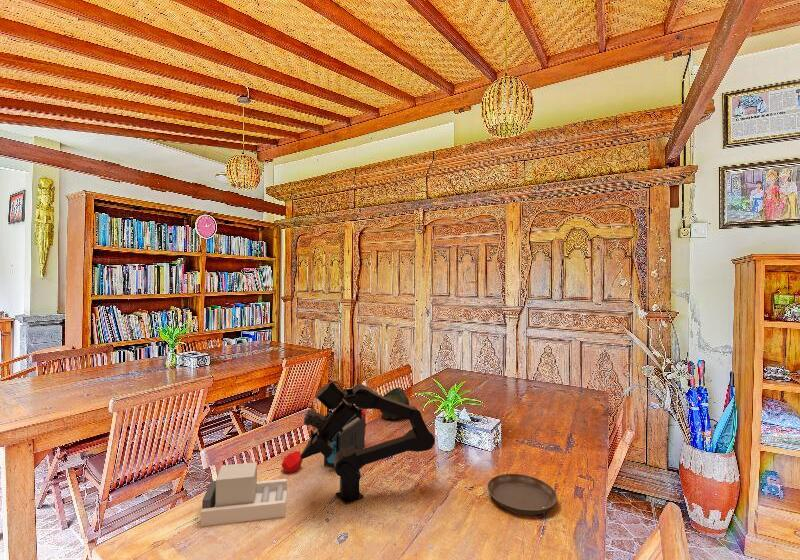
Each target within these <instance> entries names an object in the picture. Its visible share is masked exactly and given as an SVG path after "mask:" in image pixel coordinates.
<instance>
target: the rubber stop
mask: <svg viewBox="0 0 800 560" xmlns="http://www.w3.org/2000/svg"><path fill="white" fill-rule="evenodd" d="M215 503H216V480H210V482H209V485H208V487H207V490H206V492H205V493H204V496H203V498H202V503H201V505H202V506H201V510H202V509H204V508H213V507H214V506H215Z"/></svg>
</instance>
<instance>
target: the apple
mask: <svg viewBox="0 0 800 560" xmlns="http://www.w3.org/2000/svg"><path fill="white" fill-rule="evenodd" d="M301 454H302V453H301V451H300V450H299V451H298V450H295V451H293V452H290V453H288V454H287V455H286V456H284V457H283V460H282V462H281V467H282V469H283V470H284V472H285V471H286V473H288V472H289V473H288V474H292V473H295V472H297V471H296V470H298V471H300V468H301V465H302V463H303V460H304V459H302V458H300V455H301ZM294 471H295V472H294ZM291 472H292V473H291Z"/></svg>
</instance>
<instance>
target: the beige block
mask: <svg viewBox="0 0 800 560" xmlns="http://www.w3.org/2000/svg"><path fill="white" fill-rule="evenodd" d="M215 481H216V507H223V506H232V505H242V504H251V503H254V500H255V495H256V490H257V481H258V462H257V461H256V462H246V463H245V462H244V463H235V464H232V463H231V464H223V465H221V467H220V469H219V471H218V474H217V477H216V479H215Z"/></svg>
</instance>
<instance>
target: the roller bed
mask: <svg viewBox="0 0 800 560" xmlns="http://www.w3.org/2000/svg"><path fill="white" fill-rule="evenodd" d="M287 494H288V478H282V479H281V478H280V479H271V480H270V479H269V480H261V481H258V480H257V490H256V495H255V500H254V503H251V504H242V505H232V506H223V507H216V503H215V506H214V507H213V508H204V509H202V508H201V511H200V527H208V526H209V527H210V526H215V525H226V524H233V523H244V522H251V521H259V520H261V521H262V520H270V519H278V518H279V519H280V518H284V517H285V518H286V508H287V496H288V495H287Z"/></svg>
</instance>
